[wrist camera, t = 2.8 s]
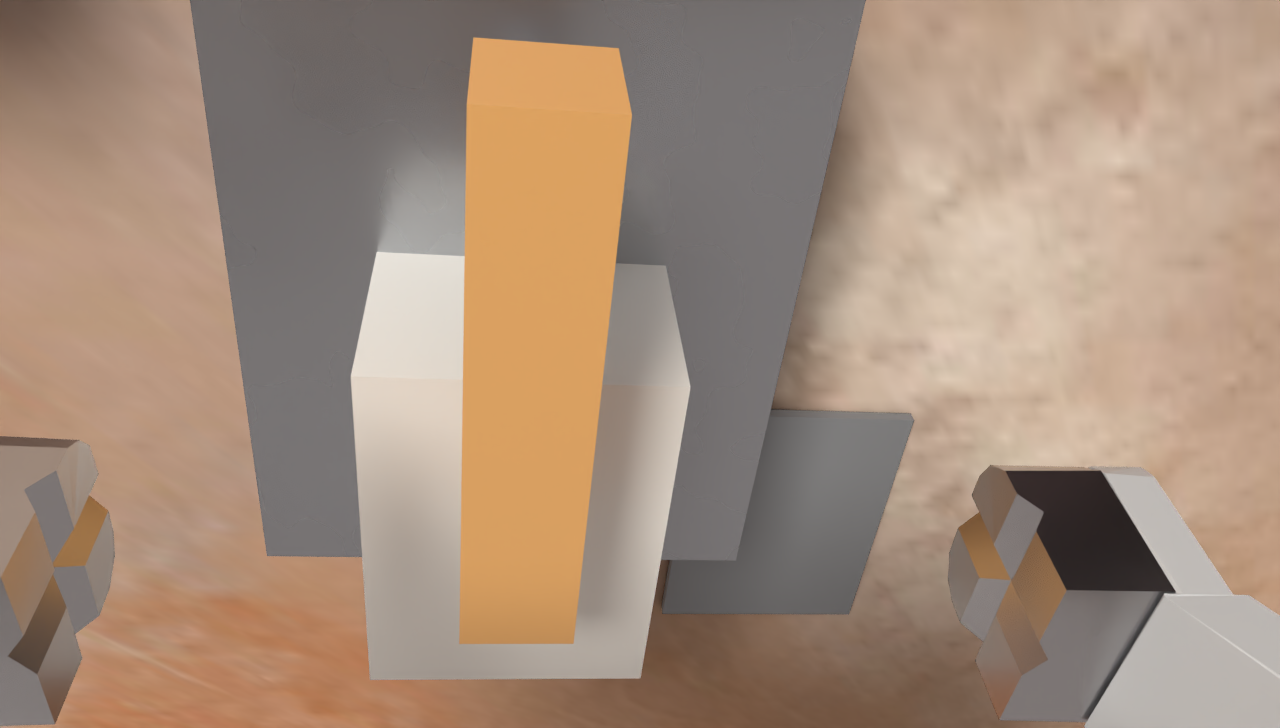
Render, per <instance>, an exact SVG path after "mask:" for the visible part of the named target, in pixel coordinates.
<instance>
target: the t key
mask: <svg viewBox="0 0 1280 728" xmlns="http://www.w3.org/2000/svg"><path fill="white" fill-rule="evenodd" d="M631 120H632V112H631V107H630V102H629V97H628V92H627V87H626V82H625V77H624V72H623V67H622V62H621V57H620V52H619V48H609V47H596V46H582V45H569V44H555V43H542V42H529V41H515V40H502V39H488V38H475V37H473V46H472V56H471V66H470V76H469V86H468V96H467V119H466V191H465V263H464V336H463V408H462V481H461V553H460V626H459V644H574V635H575V626H576V617H577V608H578V599H579V590H580V581H581V572H582V563H583V554H584V545H585V536H586V527H587V518H588V508H589V499H590V490H591V481H592V472H593V463H594V454H595V445H596V436H597V427H598V418H599V409H600V400H601V391H602V382H603V373H604V364H605V355H606V346H607V337H608V328H609V319H610V310H611V301H612V292H613V283H614V274H615V265H616V255H617V246H618V237H619V228H620V219H621V210H622V201H623V192H624V183H625V174H626V165H627V156H628V147H629V138H630V129H631Z"/></svg>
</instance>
